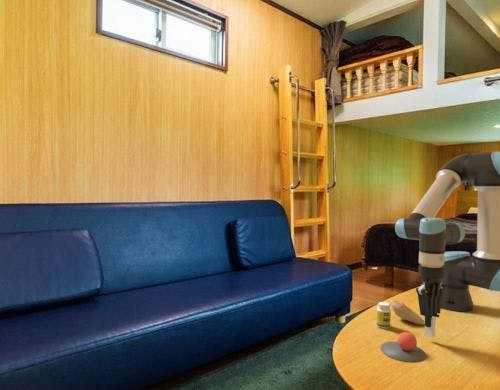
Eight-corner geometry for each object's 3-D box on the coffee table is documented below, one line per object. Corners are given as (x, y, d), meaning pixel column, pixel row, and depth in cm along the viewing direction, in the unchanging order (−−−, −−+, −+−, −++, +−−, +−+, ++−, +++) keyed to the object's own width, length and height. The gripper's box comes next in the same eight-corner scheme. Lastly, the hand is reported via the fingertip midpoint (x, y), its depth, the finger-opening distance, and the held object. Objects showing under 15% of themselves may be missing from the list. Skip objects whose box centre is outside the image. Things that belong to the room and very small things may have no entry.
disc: (408, 340, 117) (408, 340, 117) (436, 360, 104) (436, 359, 104) (372, 343, 114) (372, 343, 114) (396, 364, 102) (396, 363, 102)
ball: (401, 353, 112) (410, 340, 114) (414, 356, 107) (423, 342, 109) (390, 340, 112) (400, 327, 114) (403, 342, 107) (412, 329, 109)
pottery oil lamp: (418, 329, 126) (419, 310, 126) (386, 319, 135) (386, 301, 135) (427, 323, 132) (428, 304, 132) (396, 314, 141) (396, 296, 141)
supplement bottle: (383, 330, 126) (384, 306, 125) (373, 325, 130) (374, 302, 129) (393, 327, 128) (393, 304, 127) (382, 322, 132) (383, 300, 132)
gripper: (430, 269, 109) (428, 344, 110) (454, 265, 116) (452, 335, 117) (408, 264, 116) (407, 335, 116) (432, 260, 122) (430, 327, 123)
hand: (429, 335), depth 116 cm, fingers closed
